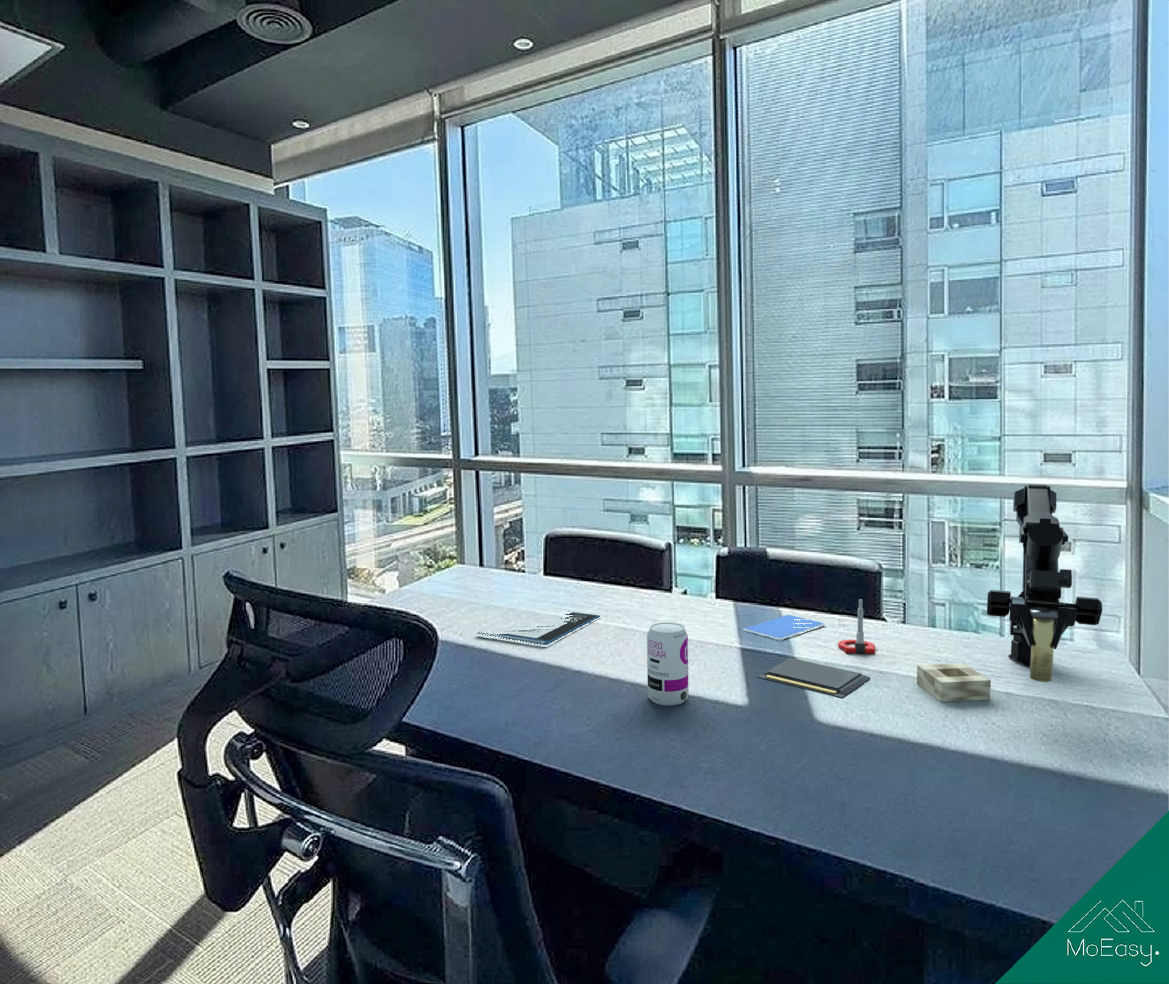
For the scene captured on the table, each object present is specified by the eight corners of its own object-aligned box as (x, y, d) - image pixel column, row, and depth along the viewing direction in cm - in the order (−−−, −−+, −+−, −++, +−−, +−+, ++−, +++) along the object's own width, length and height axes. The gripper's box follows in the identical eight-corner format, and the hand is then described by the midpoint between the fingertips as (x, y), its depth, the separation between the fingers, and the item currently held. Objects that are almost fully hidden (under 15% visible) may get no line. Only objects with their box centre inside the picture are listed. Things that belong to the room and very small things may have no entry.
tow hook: (835, 643, 194) (841, 654, 185) (836, 592, 193) (842, 600, 184) (871, 644, 193) (879, 655, 183) (871, 592, 192) (880, 600, 183)
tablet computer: (780, 643, 195) (780, 638, 195) (741, 632, 205) (741, 627, 205) (826, 628, 207) (826, 623, 207) (787, 618, 217) (787, 613, 217)
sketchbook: (600, 620, 220) (600, 612, 220) (544, 651, 194) (544, 643, 194) (535, 611, 230) (535, 604, 230) (474, 639, 204) (473, 632, 204)
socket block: (962, 681, 166) (963, 663, 165) (989, 699, 156) (990, 680, 155) (916, 683, 165) (917, 665, 165) (940, 701, 155) (941, 682, 155)
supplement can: (691, 693, 163) (691, 623, 161) (683, 708, 155) (682, 635, 153) (653, 689, 165) (652, 620, 164) (643, 704, 158) (642, 632, 156)
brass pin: (1045, 673, 150) (1048, 607, 148) (1060, 682, 145) (1064, 613, 144) (1021, 674, 150) (1024, 607, 148) (1036, 683, 145) (1039, 614, 144)
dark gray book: (873, 673, 168) (841, 693, 157) (873, 681, 169) (841, 702, 158) (789, 653, 182) (754, 671, 171) (789, 661, 182) (754, 679, 171)
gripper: (989, 549, 152) (987, 619, 144) (1103, 556, 144) (1109, 631, 136) (987, 580, 160) (985, 648, 152) (1096, 588, 152) (1100, 661, 144)
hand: (1042, 646), depth 146 cm, fingers closed on brass pin, 4 cm apart
